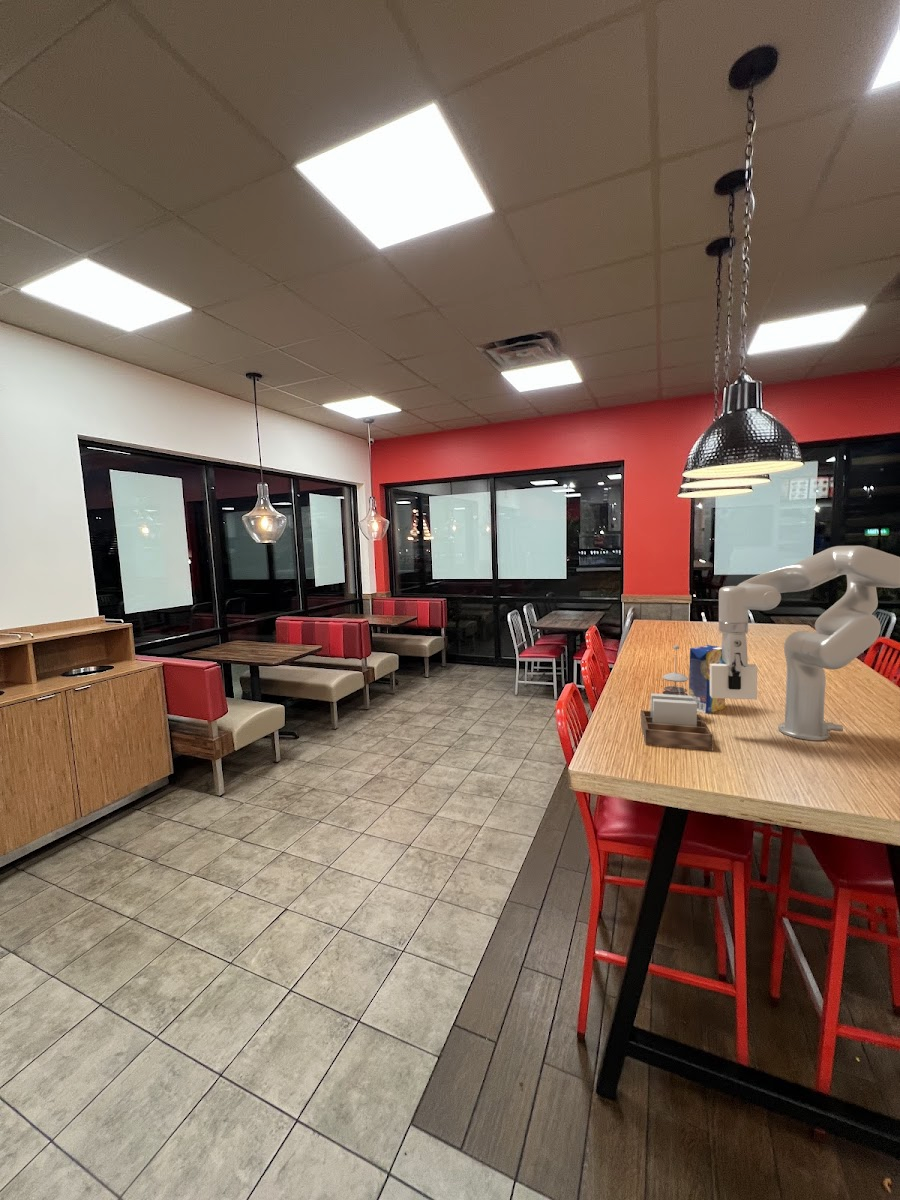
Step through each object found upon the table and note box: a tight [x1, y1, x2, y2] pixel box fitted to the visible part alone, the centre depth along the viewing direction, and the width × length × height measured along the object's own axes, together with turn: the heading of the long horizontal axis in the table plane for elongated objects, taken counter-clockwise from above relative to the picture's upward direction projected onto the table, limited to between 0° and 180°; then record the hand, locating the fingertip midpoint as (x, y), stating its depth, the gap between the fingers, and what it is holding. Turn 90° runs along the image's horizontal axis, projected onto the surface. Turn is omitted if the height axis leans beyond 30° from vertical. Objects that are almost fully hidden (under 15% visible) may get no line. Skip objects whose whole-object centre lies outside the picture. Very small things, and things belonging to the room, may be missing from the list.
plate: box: [710, 663, 758, 700], centre depth 143 cm, size 12×3×10 cm, turn 72°
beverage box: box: [688, 644, 726, 714], centre depth 170 cm, size 7×11×22 cm, turn 120°
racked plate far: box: [650, 693, 694, 717], centre depth 151 cm, size 12×3×10 cm, turn 72°
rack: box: [640, 710, 714, 752], centre depth 146 cm, size 18×18×4 cm
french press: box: [661, 644, 689, 696], centre depth 161 cm, size 10×12×25 cm
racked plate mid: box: [652, 699, 698, 726], centre depth 145 cm, size 12×3×10 cm, turn 72°
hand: (732, 686), depth 144 cm, fingers closed on plate, 2 cm apart
